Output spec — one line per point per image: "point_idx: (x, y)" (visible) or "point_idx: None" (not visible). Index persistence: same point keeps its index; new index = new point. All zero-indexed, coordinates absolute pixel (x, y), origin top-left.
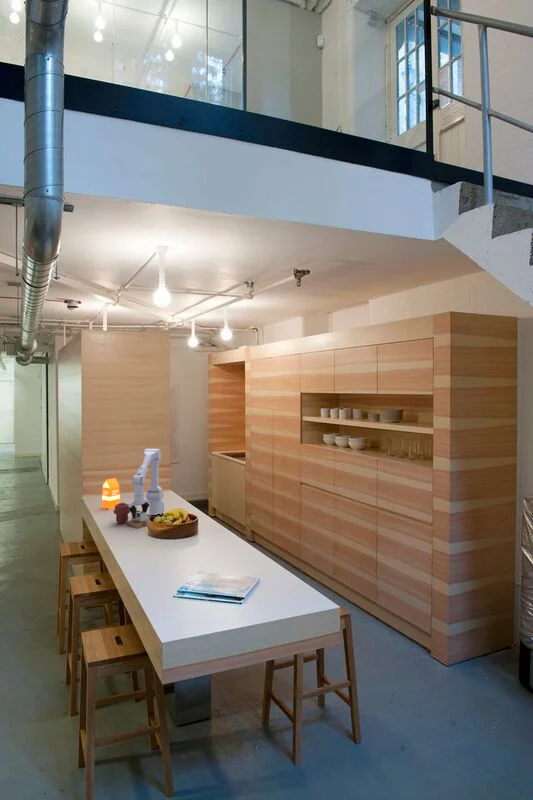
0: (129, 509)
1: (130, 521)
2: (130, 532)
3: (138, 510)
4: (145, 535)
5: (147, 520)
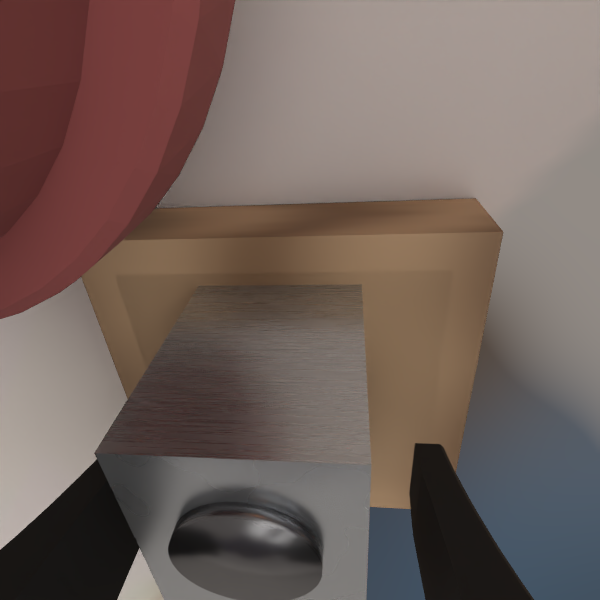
0: (108, 135)
1: (137, 323)
2: (53, 480)
3: (303, 557)
4: (140, 593)
5: (395, 474)
